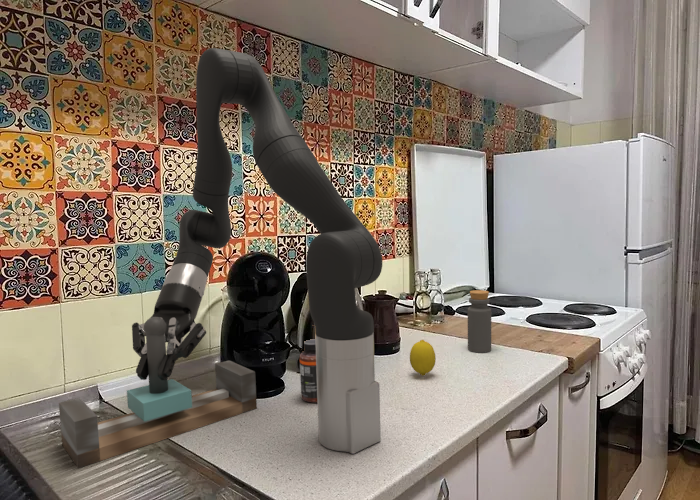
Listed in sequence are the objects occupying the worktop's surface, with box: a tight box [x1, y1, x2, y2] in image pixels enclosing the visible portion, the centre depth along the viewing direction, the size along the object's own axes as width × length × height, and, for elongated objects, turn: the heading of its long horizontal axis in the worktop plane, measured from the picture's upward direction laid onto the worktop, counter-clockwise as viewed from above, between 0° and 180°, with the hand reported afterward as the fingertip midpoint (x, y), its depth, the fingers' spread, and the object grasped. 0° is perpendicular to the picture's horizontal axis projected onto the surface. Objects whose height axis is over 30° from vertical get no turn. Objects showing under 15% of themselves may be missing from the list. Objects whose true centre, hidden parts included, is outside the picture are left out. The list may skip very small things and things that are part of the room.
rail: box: [58, 360, 258, 469], centre depth 85 cm, size 30×10×7 cm, turn 132°
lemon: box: [409, 339, 437, 377], centre depth 106 cm, size 6×6×8 cm
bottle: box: [467, 289, 492, 354], centre depth 124 cm, size 6×6×15 cm
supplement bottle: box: [299, 339, 317, 403], centre depth 95 cm, size 6×6×11 cm
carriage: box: [126, 317, 192, 422], centre depth 83 cm, size 8×8×16 cm
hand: (151, 377), depth 81 cm, fingers closed on carriage, 3 cm apart
